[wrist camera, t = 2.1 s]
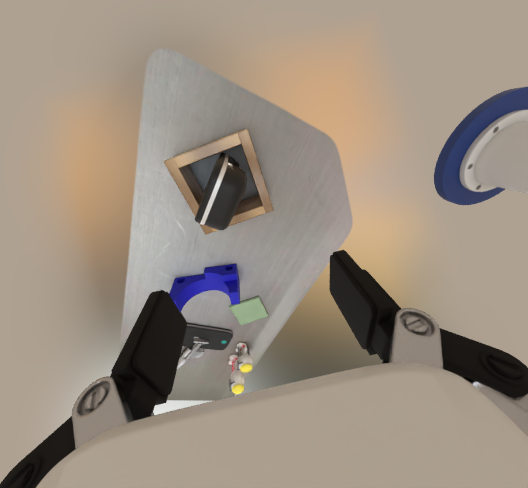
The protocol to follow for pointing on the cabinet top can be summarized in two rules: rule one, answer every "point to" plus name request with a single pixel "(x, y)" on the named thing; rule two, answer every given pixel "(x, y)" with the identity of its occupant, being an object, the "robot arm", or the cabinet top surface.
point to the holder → (192, 190)
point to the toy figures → (239, 368)
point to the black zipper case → (222, 194)
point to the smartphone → (207, 337)
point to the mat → (249, 310)
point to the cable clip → (207, 284)
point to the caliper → (192, 351)
